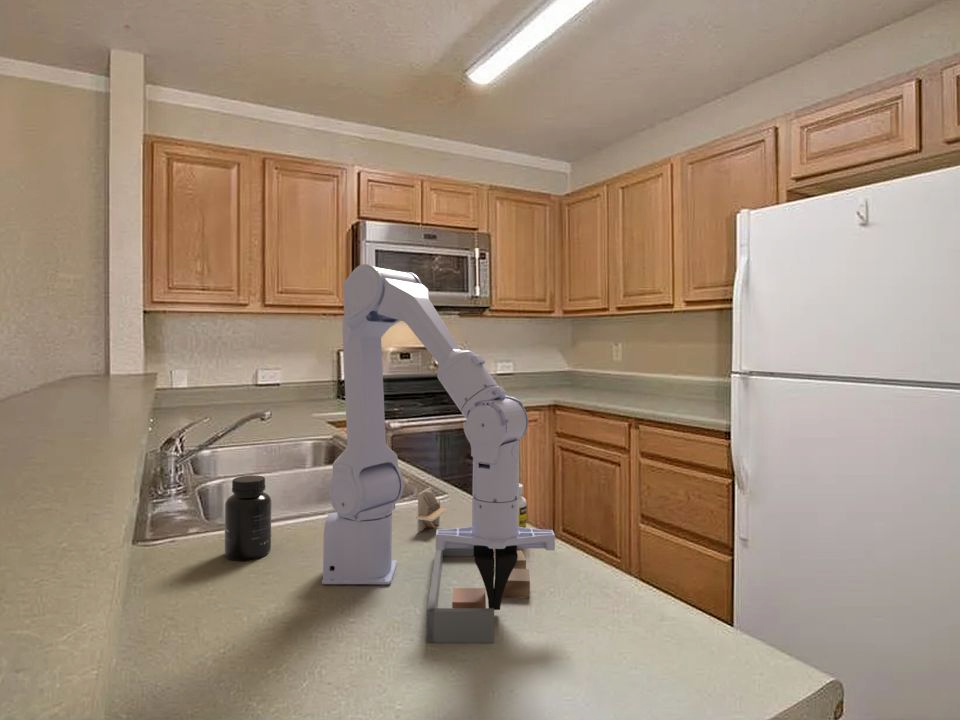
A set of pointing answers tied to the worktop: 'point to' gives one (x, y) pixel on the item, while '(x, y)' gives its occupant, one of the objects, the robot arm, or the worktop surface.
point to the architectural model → (428, 510)
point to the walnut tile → (518, 584)
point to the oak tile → (520, 561)
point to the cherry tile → (469, 598)
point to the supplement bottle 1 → (248, 519)
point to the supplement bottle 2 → (522, 508)
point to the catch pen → (456, 612)
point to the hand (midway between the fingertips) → (494, 606)
